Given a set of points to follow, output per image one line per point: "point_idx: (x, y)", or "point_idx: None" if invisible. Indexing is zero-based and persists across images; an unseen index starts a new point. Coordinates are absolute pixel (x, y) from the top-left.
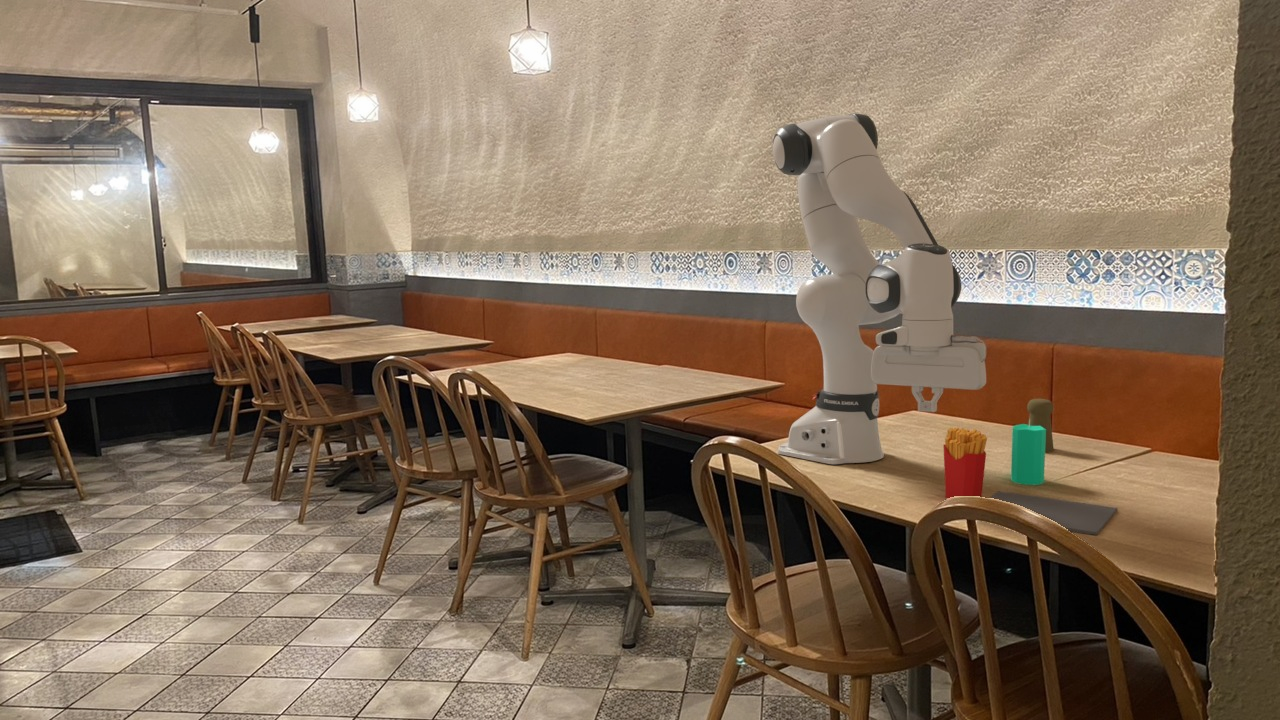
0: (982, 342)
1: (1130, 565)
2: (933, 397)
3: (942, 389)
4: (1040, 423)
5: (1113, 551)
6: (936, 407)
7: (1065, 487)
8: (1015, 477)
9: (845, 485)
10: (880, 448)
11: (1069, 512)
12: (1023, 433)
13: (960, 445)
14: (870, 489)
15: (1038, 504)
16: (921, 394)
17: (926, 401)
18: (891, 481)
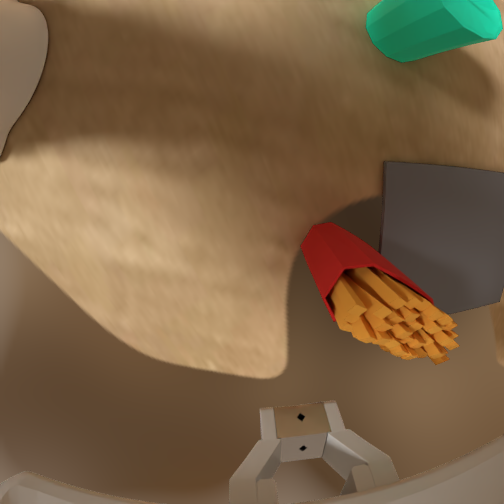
0: None
1: (499, 358)
2: (344, 474)
3: (391, 474)
4: None
5: (498, 335)
6: (337, 411)
7: (457, 59)
8: (389, 51)
9: (92, 282)
10: (32, 31)
11: (486, 236)
12: (470, 37)
13: (388, 349)
14: (143, 282)
15: (454, 218)
16: (265, 464)
17: (298, 448)
18: (142, 195)
